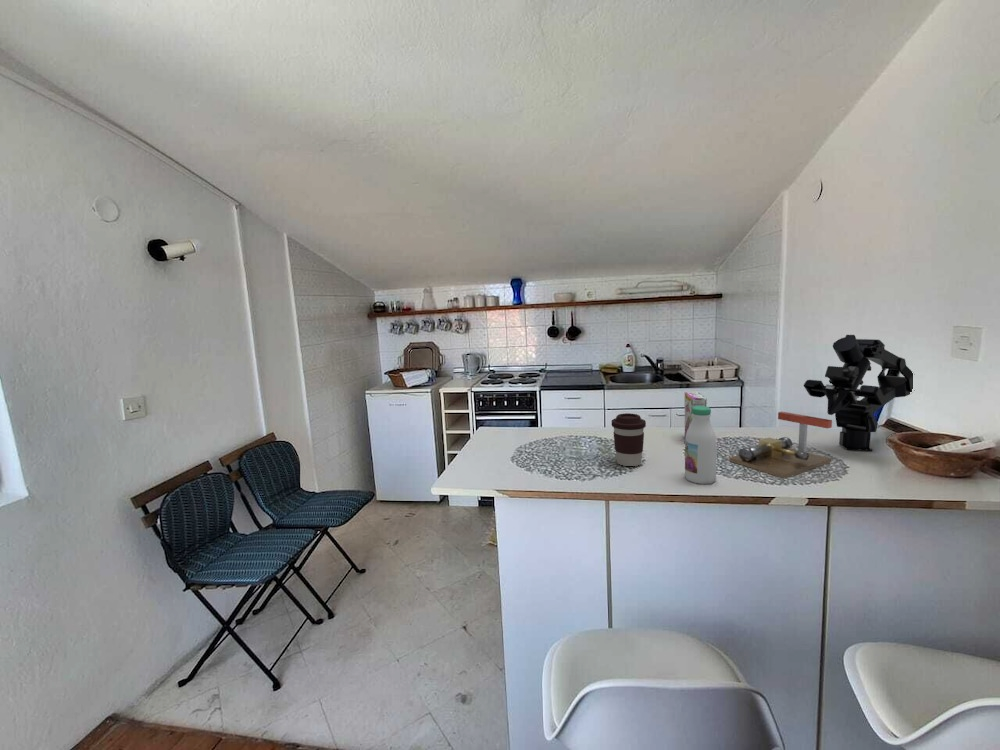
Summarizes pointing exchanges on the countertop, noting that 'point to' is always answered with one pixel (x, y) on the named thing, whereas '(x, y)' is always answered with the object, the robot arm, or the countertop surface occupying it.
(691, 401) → the candy bar box
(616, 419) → the coffee cup
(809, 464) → the valve on board
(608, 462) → the countertop surface
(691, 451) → the milk bottle
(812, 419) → the valve lever
